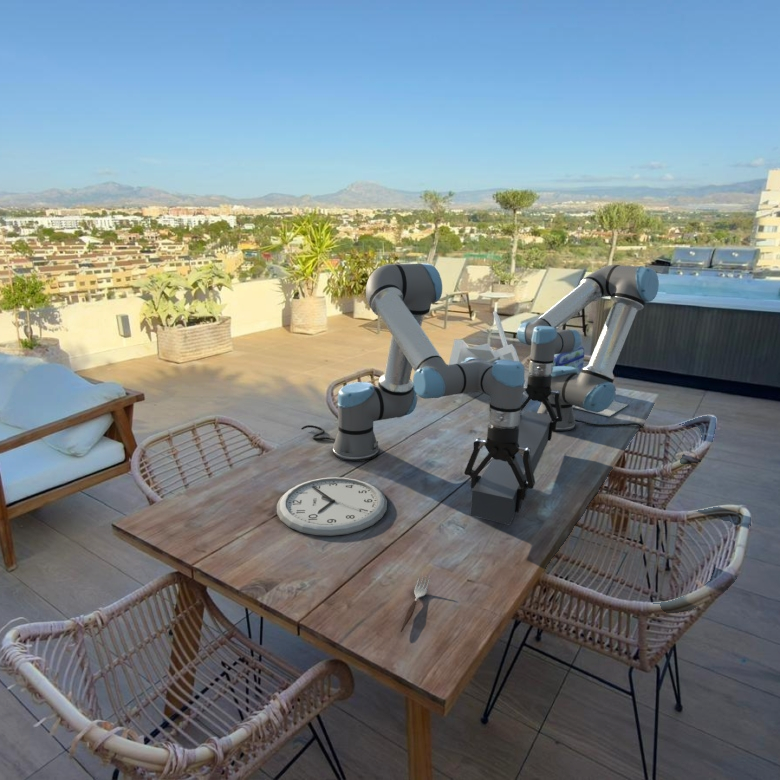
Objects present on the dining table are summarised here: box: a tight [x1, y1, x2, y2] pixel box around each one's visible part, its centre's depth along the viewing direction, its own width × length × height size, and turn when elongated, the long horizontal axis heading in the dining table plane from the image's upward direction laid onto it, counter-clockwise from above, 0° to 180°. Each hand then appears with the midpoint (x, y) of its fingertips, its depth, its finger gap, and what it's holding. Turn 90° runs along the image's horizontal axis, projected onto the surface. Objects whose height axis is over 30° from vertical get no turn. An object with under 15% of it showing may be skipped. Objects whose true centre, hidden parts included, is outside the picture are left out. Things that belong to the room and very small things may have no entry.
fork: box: [400, 573, 431, 633], centre depth 105 cm, size 3×16×2 cm, turn 160°
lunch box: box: [553, 346, 585, 374], centre depth 246 cm, size 26×11×21 cm, turn 135°
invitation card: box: [573, 400, 629, 418], centre depth 226 cm, size 21×1×15 cm
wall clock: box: [276, 476, 388, 537], centre depth 142 cm, size 30×2×30 cm
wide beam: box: [469, 410, 552, 526], centre depth 155 cm, size 65×10×7 cm, turn 155°
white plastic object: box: [448, 310, 528, 397], centre depth 245 cm, size 37×45×31 cm
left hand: (496, 505), depth 134 cm, fingers closed on wide beam, 10 cm apart
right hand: (533, 436), depth 178 cm, fingers closed on wide beam, 10 cm apart
